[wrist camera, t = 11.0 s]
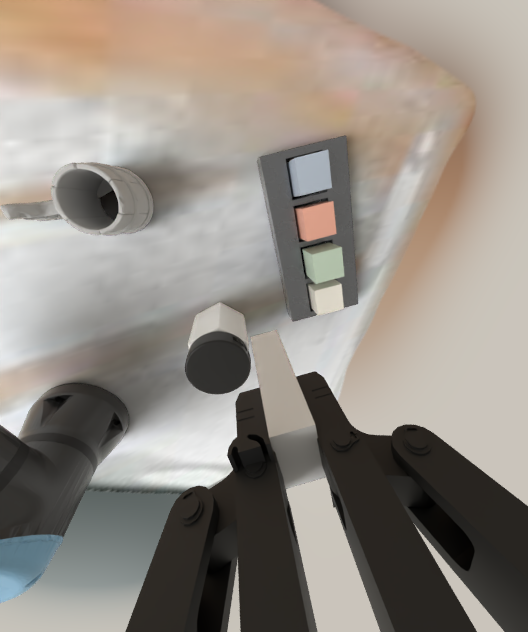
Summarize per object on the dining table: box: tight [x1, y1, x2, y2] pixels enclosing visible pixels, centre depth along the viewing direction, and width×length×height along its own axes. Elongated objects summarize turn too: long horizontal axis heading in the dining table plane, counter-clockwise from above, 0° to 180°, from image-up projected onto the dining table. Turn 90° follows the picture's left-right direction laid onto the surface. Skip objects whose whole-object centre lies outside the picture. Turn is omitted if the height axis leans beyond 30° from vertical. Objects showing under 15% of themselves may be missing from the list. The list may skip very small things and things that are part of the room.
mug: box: [0, 163, 154, 236], centre depth 27 cm, size 8×12×12 cm, turn 99°
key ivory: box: [306, 279, 344, 316], centre depth 39 cm, size 4×4×4 cm
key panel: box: [257, 136, 358, 321], centre depth 37 cm, size 11×23×3 cm, turn 13°
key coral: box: [294, 201, 337, 241], centre depth 34 cm, size 4×4×4 cm
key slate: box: [286, 150, 332, 197], centre depth 32 cm, size 4×4×4 cm
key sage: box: [302, 242, 344, 284], centre depth 35 cm, size 4×4×4 cm
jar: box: [185, 302, 251, 394], centre depth 37 cm, size 9×8×12 cm
